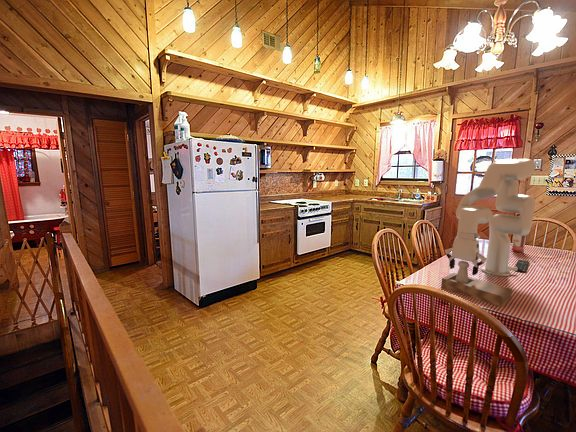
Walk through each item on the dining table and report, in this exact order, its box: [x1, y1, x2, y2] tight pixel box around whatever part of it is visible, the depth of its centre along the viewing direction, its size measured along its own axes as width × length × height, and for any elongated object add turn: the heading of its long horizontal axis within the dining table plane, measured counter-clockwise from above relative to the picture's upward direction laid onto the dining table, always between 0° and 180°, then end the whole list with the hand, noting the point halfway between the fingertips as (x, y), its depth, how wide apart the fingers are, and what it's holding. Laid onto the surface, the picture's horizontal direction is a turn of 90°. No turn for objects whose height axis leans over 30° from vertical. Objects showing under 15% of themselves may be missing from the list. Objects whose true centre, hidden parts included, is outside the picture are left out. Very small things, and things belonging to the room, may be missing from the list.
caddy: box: [440, 272, 514, 308], centre depth 130 cm, size 24×12×4 cm, turn 37°
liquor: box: [511, 234, 527, 254], centre depth 192 cm, size 7×7×28 cm
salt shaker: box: [455, 260, 470, 284], centre depth 134 cm, size 6×6×13 cm
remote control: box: [514, 259, 530, 274], centre depth 166 cm, size 5×24×1 cm, turn 137°
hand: (462, 271), depth 134 cm, fingers open, 9 cm apart
